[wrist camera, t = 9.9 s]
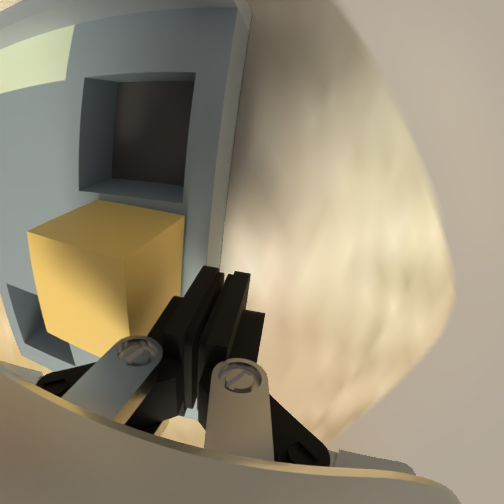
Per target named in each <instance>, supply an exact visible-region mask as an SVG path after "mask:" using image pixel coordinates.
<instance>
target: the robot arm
mask: <svg viewBox="0 0 504 504" xmlns="http://www.w3.org/2000/svg"><path fill="white" fill-rule="evenodd" d="M249 283H250V274H249V273H244V272H238V271H235V272H234V275H232V274H228V276H227V278H226V280H225V282H224V273H221V272H219V268H216V267H211V266H205V265H203V267H202V268H201V270H200V271H199V273H198V275H197V276H196V278H195V279H194V281H193V283H192V284H191V286H190V287H189V289H188V291H187V292H186V294H185V295H184V297H179V296H173V298H172V299H171V300H170V302H169V303H168V305H167V306H166V308H165V309H164V311H163V312H162V314H161V315H160V317H159V318H158V320H157V321H156V323H155V324H154V326H153V327H152V329H151V330H150V332H149V334H148V335H147V336H141V335H134V336H128V337H125V338H123V339H121V340H119V341H118V342H117V343H115V344H114V345H113V346H112V347H111V348H110V349H109V350H108V351H107V352H106V353H105V354H104V355H103V356H102V357H101V358H100V359H99V360H98V361H97V362H94V363H90V364H86V365H81V366H77V367H73V368H69V369H64V370H60V371H56V372H52V373H49V374H46V375H45V376H43V374H42V372H39V371H35V370H31V369H27V368H24V367H20V366H17V365H13V364H10V363H6V362H3V361H0V504H461V503H460V501H459V500H458V498H457V496H456V495H455V494H454V493H453V492H452V491H451V490H450V489H449V488H447V487H446V486H444V485H442V484H440V483H438V482H435V481H433V480H430V479H427V478H423V477H420V476H416V474H415V473H414V471H413V469H412V468H411V467H409V466H408V465H407V464H405V463H402V462H398V461H392V460H386V459H381V458H375V457H370V456H366V455H360V454H356V453H352V452H347V451H343V450H339V451H338V452H337V453H336V452H333V451H329V450H327V448H326V447H325V446H324V444H323V443H322V442H321V441H320V440H318V439H317V438H316V437H315V436H314V435H313V434H312V433H311V432H309V431H308V430H307V429H306V428H305V427H304V426H303V425H302V424H301V423H300V422H298V421H297V420H296V419H295V418H294V417H293V416H292V415H291V414H290V413H289V412H288V411H287V410H286V409H284V408H283V407H282V406H281V405H280V404H279V403H278V402H277V401H276V400H275V399H274V398H273V397H272V396H271V395H270V394H269V386H268V377H267V374H266V372H265V371H264V369H263V368H262V367H261V366H259V365H258V364H257V358H258V352H259V346H260V341H261V335H262V329H263V323H264V318H265V313H261V312H255V311H249V310H246V303H247V296H248V289H249ZM223 284H224V285H223ZM196 399H197V411H198V421H199V423H200V424H201V425H202V427H203V428H204V429H205V430H206V433H205V444H204V448H200V447H196V446H192V445H188V444H184V443H180V442H176V441H173V440H169V439H166V438H163V437H160V436H161V435H162V433H163V432H164V430H165V429H166V427H167V425H168V422H169V419H170V418H173V417H175V416H178V415H179V416H183V417H184V416H185V413H186V410H187V408H189V409H193V408H194V405H195V402H196Z"/></svg>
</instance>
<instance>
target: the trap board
mask: <svg viewBox="0 0 504 504" xmlns="http://www.w3.org/2000/svg"><path fill="white" fill-rule="evenodd" d="M251 18H252V11H251V8H250V5H249V3H248V0H23V1H21V2H19V3H17V4H15V5H13V6H11V7H9V8H7V9H5V10H3V11H1V12H0V294H1V297H2V301H3V304H4V307H5V311H6V314H7V317H8V320H9V323H10V326H11V329H12V332H13V334H14V337H15V340H16V343H17V345H18V348H19V350H20V353H21V355H23V356H24V357H26V358H28V359H30V360H32V361H34V362H36V363H38V364H40V365H42V366H44V367H46V368H49V369H51V370H53V371H55V372H56V371H60V370H64V369H69V368H73V367H77V366H81V365H86V364H90V363H94V362H97V361H98V360H99V359H100V357H98V356H96V355H94V354H91V353H89V352H87V351H85V350H83V349H81V348H78V347H76V346H74V345H72V344H70V343H68V342H66V341H64V340H62V339H60V338H58V337H56V336H54V335H52V334H50V333H48V332H47V330H46V326H45V323H44V319H43V315H42V311H41V307H40V303H39V299H38V294H37V290H36V285H35V280H34V275H33V269H32V264H31V258H30V251H29V245H28V237H27V231H28V230H31V229H33V228H35V227H37V226H39V225H41V224H43V223H45V222H47V221H50V220H52V219H54V218H56V217H58V216H60V215H63V214H65V213H67V212H69V211H72V210H74V209H76V208H79V207H81V206H83V205H86V204H88V203H91V202H93V201H95V200H104V201H109V202H115V203H120V204H126V205H131V206H137V207H142V208H147V209H153V210H158V211H163V212H169V213H174V214H179V215H184V216H185V223H184V238H183V255H182V274H181V297H184V295H185V294H186V292H187V291H188V289H189V287H190V286H191V284H192V283H193V281H194V279H195V278H196V276H197V275H198V273H199V271H200V270H201V268H202V267H203V265H205V266H211V267H216V268H219V270H220V259H221V249H222V240H223V230H224V220H225V211H226V202H227V193H228V185H229V176H230V168H231V159H232V151H233V143H234V136H235V128H236V120H237V113H238V105H239V98H240V91H241V84H242V77H243V70H244V63H245V57H246V50H247V43H248V37H249V31H250V24H251ZM178 416H179V415H178ZM182 417H183V416H182ZM184 417H186V418H190V419H194V420H198V411H197V399H196V402H195V405H194V408H193V409H189V408H187V410H186V413H185V416H184Z"/></svg>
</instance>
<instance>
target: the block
mask: <svg viewBox="0 0 504 504" xmlns="http://www.w3.org/2000/svg"><path fill="white" fill-rule="evenodd" d="M184 223H185V216H184V215H179V214H174V213H169V212H163V211H158V210H153V209H147V208H142V207H137V206H131V205H126V204H120V203H115V202H109V201H104V200H95V201H93V202H91V203H88V204H86V205H83V206H81V207H79V208H76V209H74V210H72V211H69V212H67V213H65V214H63V215H60V216H58V217H56V218H54V219H52V220H50V221H47V222H45V223H43V224H41V225H39V226H37V227H35V228H33V229H31V230H28V231H27V237H28V245H29V251H30V258H31V264H32V269H33V275H34V280H35V285H36V290H37V294H38V299H39V303H40V307H41V311H42V315H43V319H44V323H45V326H46V330H47V332H48V333H50V334H52V335H54V336H56V337H58V338H60V339H62V340H64V341H66V342H68V343H70V344H72V345H74V346H76V347H78V348H81V349H83V350H85V351H87V352H89V353H91V354H94V355H96V356H98V357H100V358H101V357H102V356H103V355H104V354H105V353H106V352H107V351H108V350H109V349H110V348H111V347H112V346H113V345H114V344H115V343H117V342H118V341H119V340H121V339H123V338H125V337H128V336H134V335H141V336H147V335H148V334H149V332H150V330H151V329H152V327H153V326H154V324H155V323H156V321H157V320H158V318H159V317H160V315H161V314H162V312H163V311H164V309H165V308H166V306H167V305H168V303H169V302H170V300H171V299H172V298H173V296H179V297H181V274H182V255H183V238H184Z"/></svg>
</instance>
